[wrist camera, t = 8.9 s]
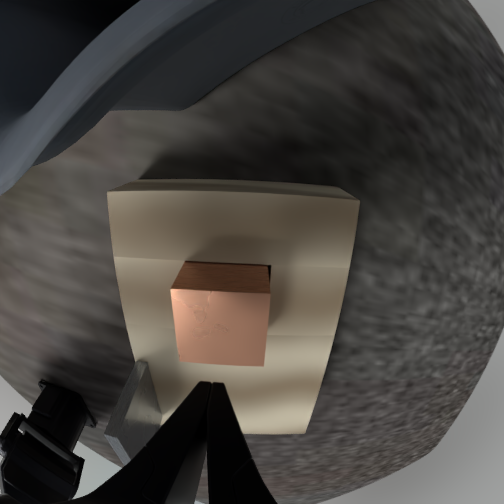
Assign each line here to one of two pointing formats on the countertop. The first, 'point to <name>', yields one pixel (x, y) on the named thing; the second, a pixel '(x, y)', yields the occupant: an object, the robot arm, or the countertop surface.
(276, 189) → the block
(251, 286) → the peg
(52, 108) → the storage bin
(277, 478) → the countertop surface
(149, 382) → the latch flap
